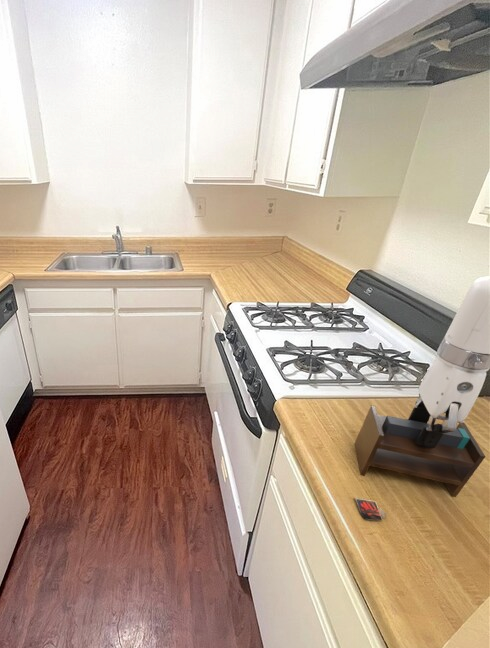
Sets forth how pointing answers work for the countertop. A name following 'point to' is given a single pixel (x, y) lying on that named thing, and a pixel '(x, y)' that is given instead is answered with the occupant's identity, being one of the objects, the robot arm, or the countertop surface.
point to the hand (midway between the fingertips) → (420, 434)
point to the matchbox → (370, 509)
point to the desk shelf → (416, 455)
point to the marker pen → (414, 428)
